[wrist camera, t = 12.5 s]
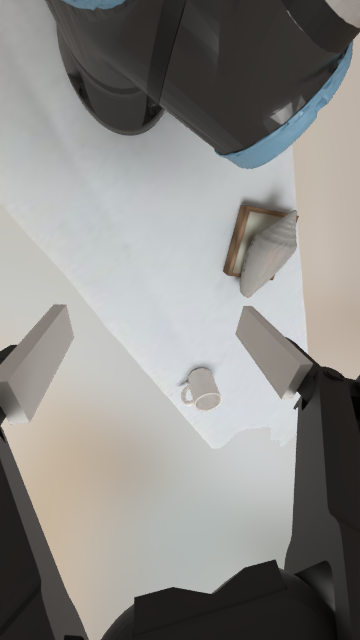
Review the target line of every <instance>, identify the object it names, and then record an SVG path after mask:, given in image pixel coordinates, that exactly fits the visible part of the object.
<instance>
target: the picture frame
mask: <svg viewBox="0 0 360 640" xmlns="http://www.w3.org/2000/svg"><path fill="white" fill-rule="evenodd" d="M286 215H288V214H286V213H281V212H276V211H271V210H266V209H261V208H256V207H251V206H241V207H240V210H239V214H238V218H237V222H236V225H235V229H234V233H233V237H232V240H231V244H230V248H229V252H228V255H227V259H226V263H225V267H224V270H223V272H224V273H225V274H227V275H228V276H237V277H241V273H242V268H243V265H244V261H245V258H246V255H247V252H248V250H249V247H250V245H251V242H252V240H253V239H254V237H255V236H256V235H257V234H258V233H260V232H262V231H264V230H265V229H267V228H269V227H270V226H272V225H273V224H275V223H277V222H278V221H279V220H281V219H282V218H283V217H285V216H286ZM298 217H299V216H296V222H297V219H298ZM274 276H275V275H274ZM274 276H273V277H272V278H271V279H270V280H273V278H274Z"/></svg>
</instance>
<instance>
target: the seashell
mask: <svg viewBox="0 0 360 640" xmlns="http://www.w3.org/2000/svg"><path fill="white" fill-rule="evenodd" d="M296 216H297V211H296V210H294V211H292V212H291V213H289V214H288V215H286V216H285V217H283V218H282V219H281V220H279V221H278V222H277V223H275V224H273V225H272V226H270V227H269V228H267V229H265V230H264V231H262V232H260V233H258V234H257V235H256V236H255V237H254V239H253V240H252V242H251V245H250V247H249V250H248V252H247V255H246V258H245V261H244V265H243V268H242V273H241V278H240V292H241V293H242V295H243V296H246V297H247V298H249V297H251V296H252V295H253V294H254V293H255V292H256V291H257V290H258V289H259V288H261V287H262V286H263V285H264V284H265V283H267V282H268V281H269V280H270V279H271V278H272V277H273V276H274V275H275V274H276V273H277V272H278V271H279V270H280V269H281V268H282V266H283V265H284V264H285V263H286V262H287V261H288V260H289V258H290V257H291V256H292V254H293V253H294V252H295V250H296V247H297V243H296V235H295V233H296V230H295V227H296Z"/></svg>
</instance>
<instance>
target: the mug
mask: <svg viewBox="0 0 360 640" xmlns="http://www.w3.org/2000/svg"><path fill="white" fill-rule="evenodd" d="M188 381H189V385H187V386H186V387H185V388H184V389H183V391H182V394H181V398H182V401H183V403H184V404H185V405H187V406H193V405H195V408H196V409H197V410H199V411H210V410H213V409H215V408H216V407H218V406H219V405H220V403H221V401H222V398H221V395H220V393H219V390H218V388H217V385H216V383H215V381H214V378H213V376H212V373H211V372H210V371H209V370H208V369H205V368H199V369H196V370H194V371H192V372H191V373H190V375H189V377H188ZM189 389H190V390H191V394H192V397H193V400H191V401H187V400H186V398H185V394H186V392H187V391H188V390H189Z"/></svg>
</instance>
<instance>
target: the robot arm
mask: <svg viewBox="0 0 360 640" xmlns="http://www.w3.org/2000/svg"><path fill="white" fill-rule="evenodd" d="M45 1H46V3H47V5H48V7H49V9H50V11H51V13H52V15H53V17H54V19H55V21H56V23H57V36H58V43H59V48H60V52H61V56H62V60H63V63H64V66H65V69H66V72H67V75H68V77H69V79H70V82H71V84H72V86H73V88H74V90H75V91H76V93H77V95H78V96H79V98H80V100H81V101H82V103H83V105H84V106H85V107H86V109H87V110H88V111H89V113H90V114H91V115H92V116H93V117H94V118H95V119H96V120H97V121H98V122H99V123H100V124H102V125H103V126H104V127H106V128H107V129H109V130H111V131H113V132H115V133H118V134H122V135H138V134H141V133H144V132H146V131H148V130H149V129H150V128H152V127H153V126H154V125H155V124H156V123H157V122H158V121H159V119H160V118H161V116H162V114H163V113H164V111H165V110H166V111H168V112H169V113H170V114H171V115H173V116H174V117H175V118H176V119H178V120H179V121H180V122H181V123H183V124H184V125H185V126H186V127H188V128H189V129H190V130H192V131H193V132H194V133H195V134H197V135H198V136H199V137H200V138H202V139H203V140H204V141H205V142H207V143H208V144H209V145H211V146H212V147H213V148H214V149H215V152H216V153H217V154H218V155H219V156H221V157H224V158H227V159H228V160H230V161H231V162H233V163H234V164H236V165H237V166H239V167H241V168H246V169H253V168H256V167H259V166H262V165H264V164H266V163H267V162H269V161H271V160H272V159H274V158H275V157H277V156H278V155H279V154H281V153H282V152H283V151H284V150H286V149H287V148H288V147H289V146H290V145H291V144H292V143H293V142H294V141H296V139H298V138H299V137H300V136H301V134H303V132H305V130H306V129H307V128H308V127H309V126H310V125H311V124H312V123H313V121H314V120H315V119H316V117H317V112H318V111H319V110H320V109H321V108H322V107H324V106H325V105H326V104H328V103H329V101H330V99H331V98H332V97H333V95H334V94H335V92H336V91H337V89H338V88H339V86H340V84H341V82H342V81H343V78H344V77H345V75H346V72H347V70H348V68H349V66H350V62H351V58H352V46H353V39H354V38H355V37H356V36H357V35H358V34H359V32H360V0H45ZM236 336H237V337H238V338H239V340H240V341H241V343H242V344H243V346H244V347H245V348H246V350H247V351H248V353H249V354H250V355H251V357H252V358H253V360H254V361H255V363H256V364H257V365H258V367H259V368H260V370H261V371H262V372H263V374H264V375H265V377H266V378H267V380H268V381H269V382H270V384H271V385H272V387H273V388H274V389H275V391H276V392H277V394H278V395H279V397H280V398H281V399H289V398H293V397H294V395H295V393H296V392H298V393H299V394H300V395H301V397H300V398H299V400H298V401H297V403H296V405H295V406H294V408H293V409H295V410H296V408H297V407H298V423H297V443H296V465H295V466H296V467H295V484H294V505H293V525H292V537H291V542H290V544H289V547H288V550H287V553H286V558H285V566H284V570H283V569H280V568H278V565H277V562H276V560H272V561H268V562H264V563H261V564H257V565H253V566H249V567H246V568H244V569H242V570H241V571H240V572H238V573H237V574H235V575H234V576H233V577H231V578H230V579H229V580H228V581H226V582H225V583H224V584H222V585H221V586H220V587H219V588H218V589H217V590H215V591H214V592H213V593H212V594H208V593H202V592H197V591H191V590H186V589H180V588H175V587H172V588H168V589H164V590H160V591H157V592H153V593H149V594H145V595H142V596H138V597H135V598H134V604H133V605H132V606H131V607H129V608H128V609H127V610H126V611H124V612H123V613H122V614H121V615H120V616H119V617H118V618H117V619H116V620H115V622H114V623H113V624H112V625H111V627H110V628H109V629H108V630H107V632H106V633H105V634H104V636H103V637H102V639H101V640H360V375H359V376H358V378H357V379H356V380H353V379H348V378H345V377H344V376H343V375H342V374H341V373H339V372H338V371H336V370H334V369H332V368H329V367H321V366H320V365H319V364H318V363H316V362H315V361H314V360H313V359H312V358H311V357H310V356H309V355H308V354H307V353H306V352H304V351H303V350H302V349H301V348H300V347H299V346H298V345H297V344H296V343H295V342H293V341H292V340H290V339H288V338H287V337H284V336H283V335H282V334H281V333H280V332H279V331H278V330H277V329H276V328H275V327H274V326H273V325H272V324H270V323H269V322H268V321H267V320H266V319H265V318H264V317H263V316H262V315H261V314H260V313H259V312H258V311H257V310H256V309H255V308H253V307H252V306H243V310H242V313H241V317H240V320H239V324H238V327H237V330H236ZM73 338H74V336H73V331H72V327H71V323H70V318H69V314H68V310H67V306H66V305H53V306H52V307H51V308H50V309H49V311H48V312H47V313H46V314H45V315H44V316H43V317H42V319H41V320H40V321H39V322H38V323H37V324H36V325H35V326H34V327H33V329H32V330H31V331H30V332H29V333H28V334H27V335H26V337H25V338H24V339H23V340H22V341H21V342H20V343H19V344H18V345H10V346H8V347H7V348H5V349H4V350H2V351H0V425H1V423H2V422H3V420H4V419H5V418H7V420H8V421H9V423H10V424H11V425H12V424H22V423H29V422H30V421H31V419H32V417H33V415H34V414H35V412H36V410H37V407H38V406H39V404H40V402H41V400H42V398H43V396H44V394H45V392H46V391H47V389H48V387H49V384H50V383H51V381H52V379H53V377H54V375H55V373H56V371H57V369H58V367H59V365H60V364H61V362H62V360H63V358H64V356H65V354H66V352H67V350H68V348H69V346H70V344H71V342H72V340H73ZM0 640H89V639H88V637H87V634H86V632H85V629H84V627H83V624H82V622H81V619H80V617H79V615H78V613H77V611H76V608H75V606H74V605H73V603H72V601H71V599H70V598H69V596H68V594H67V591H66V589H65V587H64V584H63V581H62V579H61V577H60V574H59V571H58V569H57V566H56V564H55V561H54V558H53V556H52V553H51V551H50V548H49V546H48V543H47V541H46V538H45V536H44V533H43V531H42V528H41V525H40V523H39V521H38V518H37V515H36V513H35V510H34V508H33V505H32V503H31V500H30V498H29V495H28V493H27V490H26V487H25V485H24V482H23V480H22V477H21V475H20V472H19V469H18V467H17V465H16V462H15V459H14V457H13V454H12V452H11V449H10V447H9V444H8V441H7V439H6V436H5V434H4V431H3V429H2V428H1V426H0Z"/></svg>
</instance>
